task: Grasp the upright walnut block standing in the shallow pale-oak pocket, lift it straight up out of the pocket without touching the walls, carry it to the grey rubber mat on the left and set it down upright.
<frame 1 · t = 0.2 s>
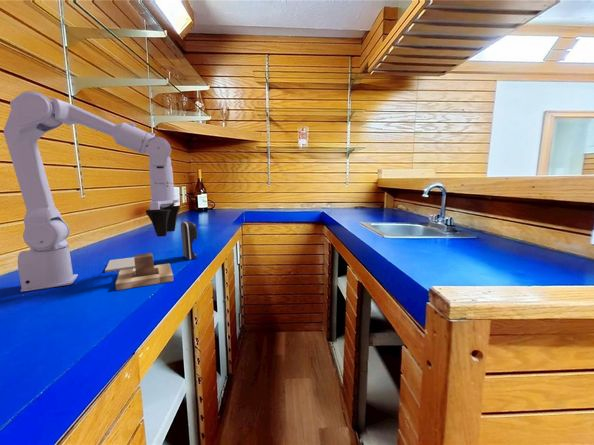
hand: (166, 233, 81), 10 cm above the worktop, fingers open, 7 cm apart
dark grey upright piece: (191, 257, 95), on the worktop
mat: (131, 263, 89), on the worktop
caddy: (146, 278, 75), on the worktop
block: (144, 267, 74), in the caddy
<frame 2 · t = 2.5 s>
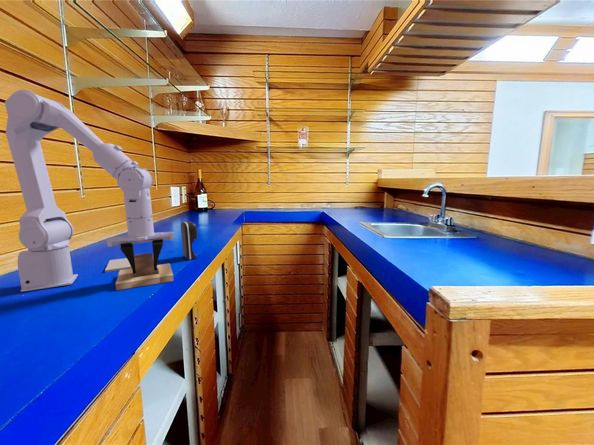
hand: (145, 271, 74), 2 cm above the worktop, fingers closed on block, 4 cm apart
block: (144, 266, 74), in the caddy, touching gripper
everything else where it was.
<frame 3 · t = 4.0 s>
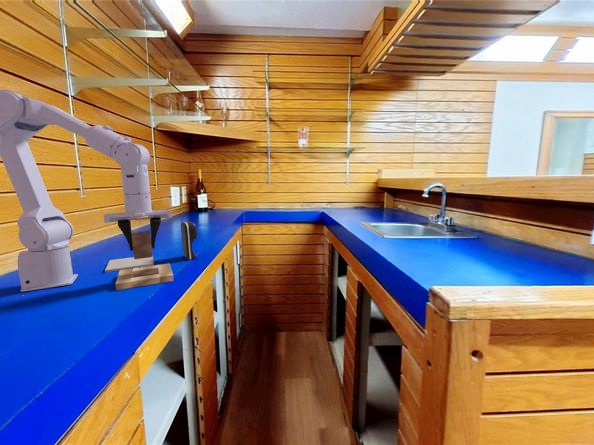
hand: (142, 248, 74), 8 cm above the worktop, fingers closed on block, 4 cm apart
block: (142, 244, 74), point 9 cm above the worktop, touching gripper
everything else where it was.
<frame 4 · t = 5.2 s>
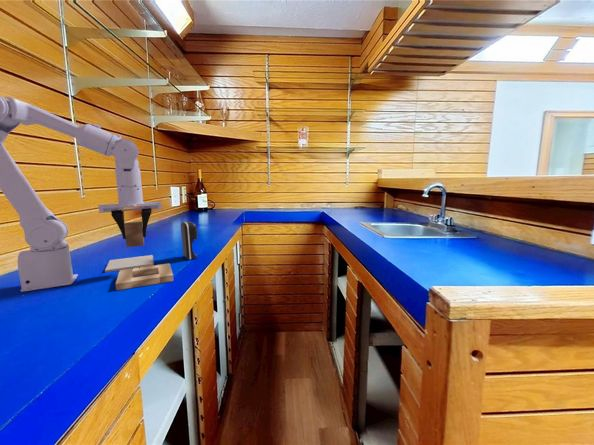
hand: (134, 237, 80), 9 cm above the worktop, fingers closed on block, 4 cm apart
block: (134, 234, 79), point 10 cm above the worktop, touching gripper
everything else where it was.
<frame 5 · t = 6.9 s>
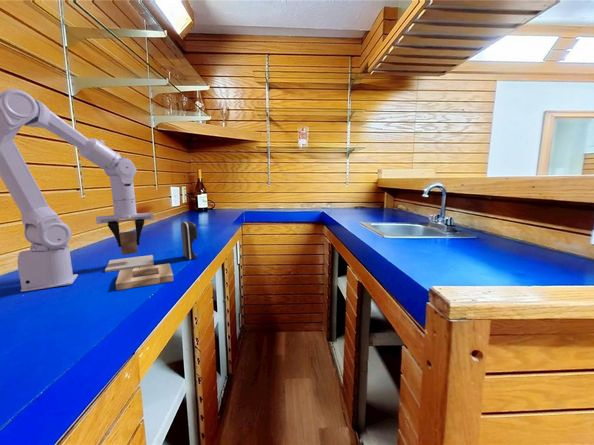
hand: (129, 245, 88), 6 cm above the worktop, fingers closed on block, 4 cm apart
block: (128, 242, 88), point 6 cm above the worktop, touching gripper
everything else where it was.
when the fingers open (3 cm above the worktop, at t = 8.2 s): block stays where it is, resting on mat.
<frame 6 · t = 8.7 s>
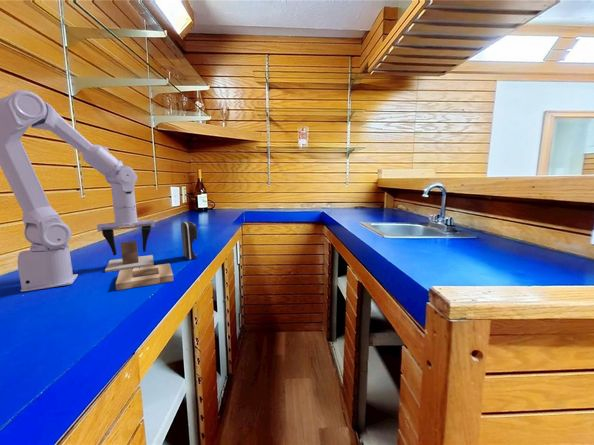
hand: (130, 252, 88), 3 cm above the worktop, fingers open, 7 cm apart
block: (129, 252, 88), on the mat, point 4 cm above the worktop
everything else where it was.
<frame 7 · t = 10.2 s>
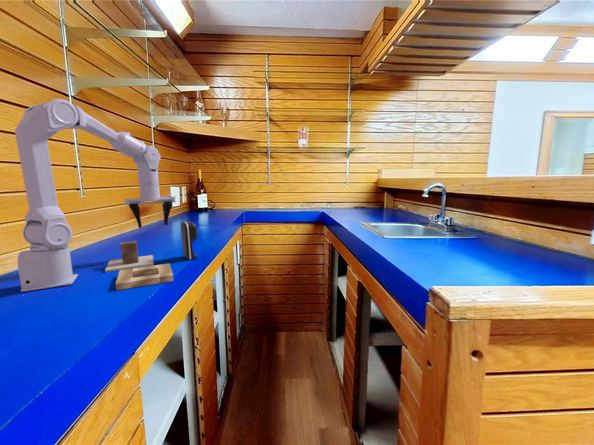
hand: (153, 226, 97), 10 cm above the worktop, fingers open, 7 cm apart
nothing on the worktop moved.
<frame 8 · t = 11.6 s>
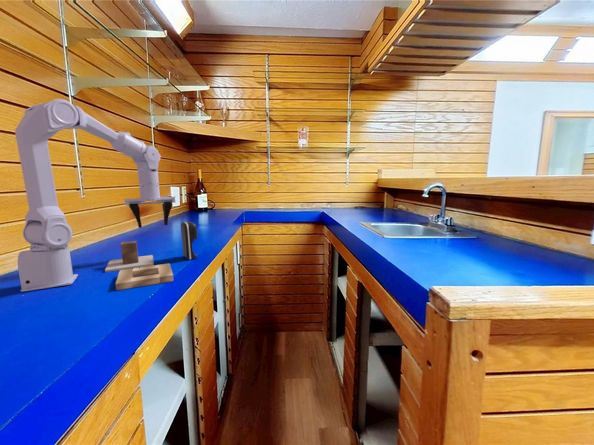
hand: (153, 226, 97), 10 cm above the worktop, fingers open, 7 cm apart
nothing on the worktop moved.
at the end: block inside the target area on the mat (0.4 cm from its centre), point 3.6 cm above the mat's base; block tilted 0°; the gripper is holding nothing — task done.
